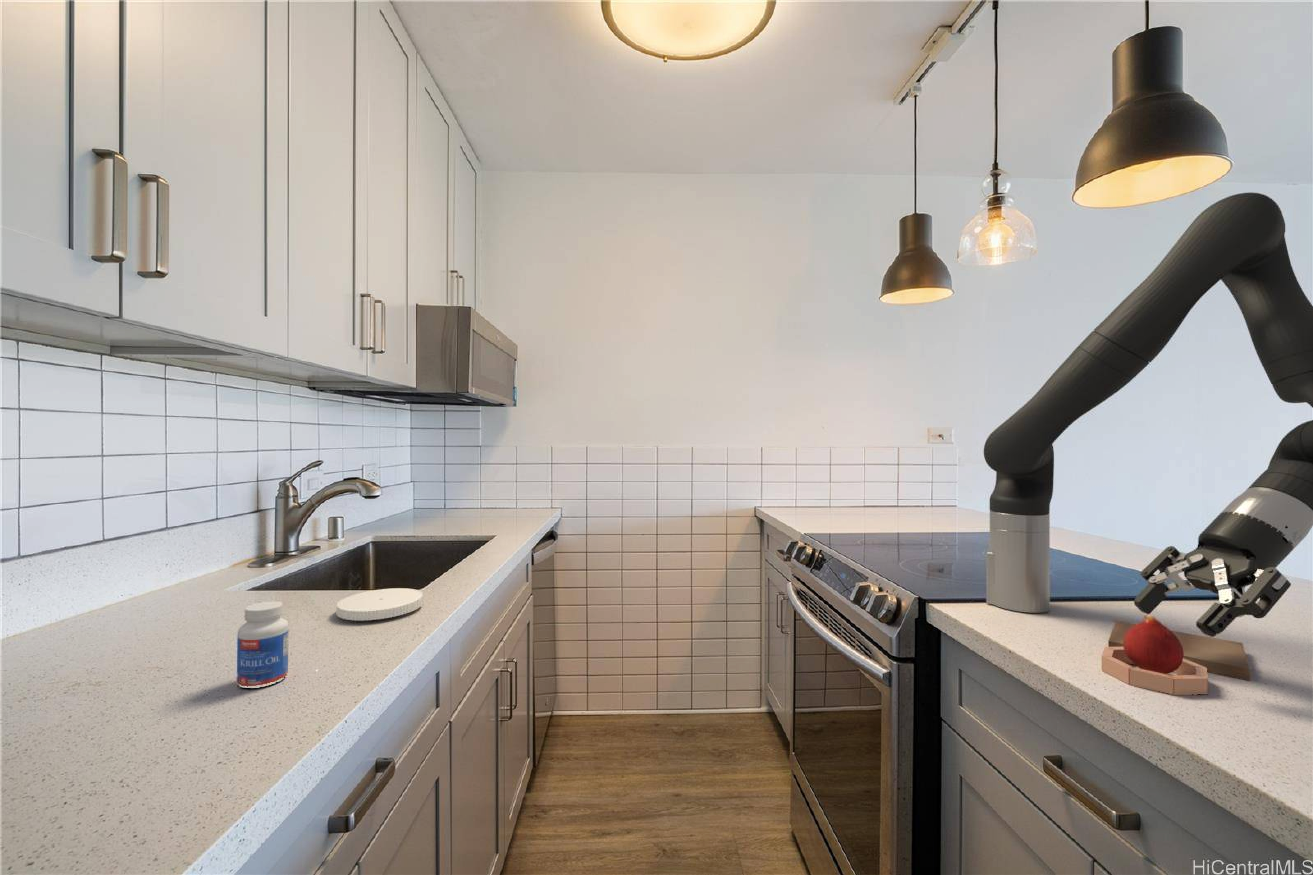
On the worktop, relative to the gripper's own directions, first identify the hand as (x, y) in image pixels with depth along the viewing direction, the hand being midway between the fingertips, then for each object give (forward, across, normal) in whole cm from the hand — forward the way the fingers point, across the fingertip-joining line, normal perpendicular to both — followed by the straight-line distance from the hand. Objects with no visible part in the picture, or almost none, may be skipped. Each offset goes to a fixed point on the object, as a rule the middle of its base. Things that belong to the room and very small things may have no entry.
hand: (1170, 619), depth 71 cm
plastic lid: (+87, -31, -76) cm, 120 cm away
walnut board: (-1, -8, +11) cm, 14 cm away
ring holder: (+7, 0, +4) cm, 8 cm away
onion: (+7, 0, +4) cm, 8 cm away
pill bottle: (+88, -2, -78) cm, 118 cm away
